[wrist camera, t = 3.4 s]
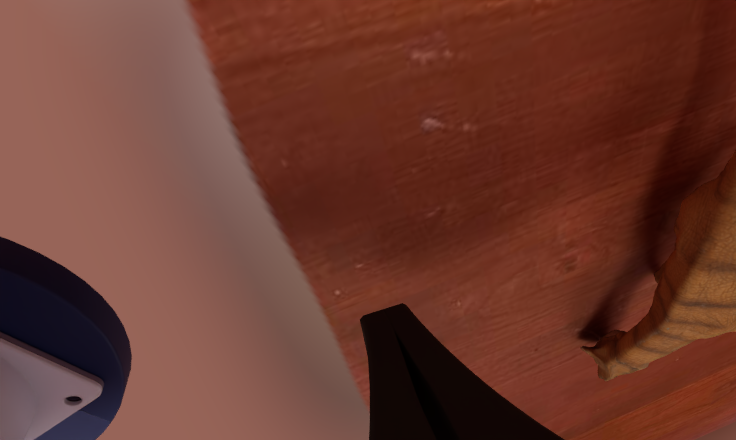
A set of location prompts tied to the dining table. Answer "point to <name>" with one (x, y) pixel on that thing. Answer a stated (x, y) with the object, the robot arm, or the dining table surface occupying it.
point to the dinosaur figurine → (685, 284)
